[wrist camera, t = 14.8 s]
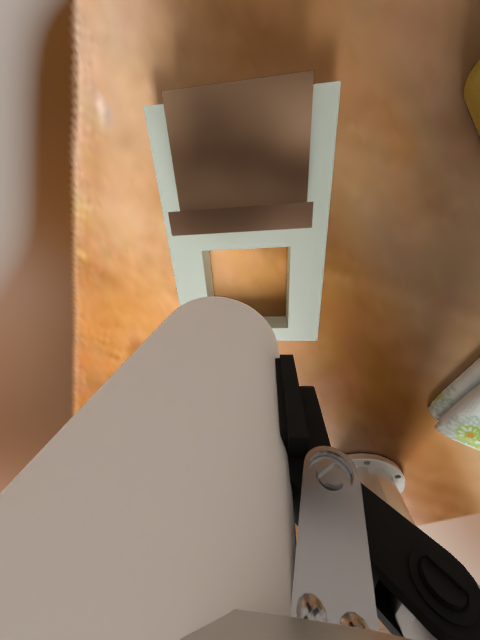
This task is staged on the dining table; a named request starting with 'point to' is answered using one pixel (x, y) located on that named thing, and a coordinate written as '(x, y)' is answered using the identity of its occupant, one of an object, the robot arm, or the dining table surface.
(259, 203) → the lid
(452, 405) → the towel
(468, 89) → the flower pot
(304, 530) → the robot arm
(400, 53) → the dining table surface
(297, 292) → the well board
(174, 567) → the can
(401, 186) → the dining table surface
